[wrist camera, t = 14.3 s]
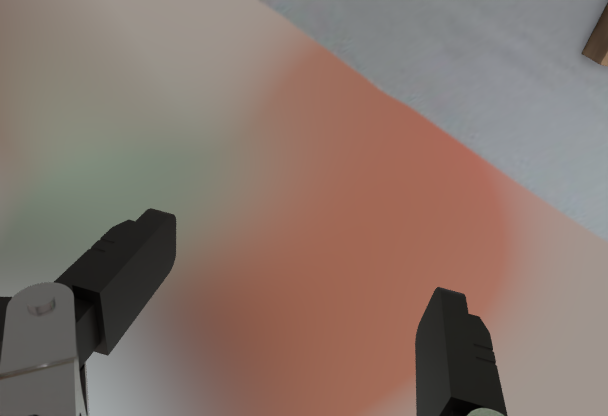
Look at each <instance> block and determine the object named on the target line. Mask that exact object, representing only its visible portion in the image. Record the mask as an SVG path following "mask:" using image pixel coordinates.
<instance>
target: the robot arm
mask: <svg viewBox="0 0 608 416" xmlns="http://www.w3.org/2000/svg"><path fill="white" fill-rule="evenodd" d="M175 256H176V217H175V215H173V214H170V213H166V212H162V211H159V210H155V209H148V210H147V211H145V213H144V214H142V215H141V216H140V217H139V218H138V219H137V220H136V221H132V220H127V221H125V222H122V223H120V224H118V225H116V226H114V227H112V228H111V229H110V230H109V231H108V232H107V233H106V234H104V236H102V237H101V239H100V240H98V241H97V242H96V243H95V244H94V245H93V246H92V247H91V249H89V250H87V252H85V253H84V254H83V255H82V256H81V257H80V258H79V259H78V260H77V261H76V262H75V263H74V264H72V265H71V266H70V267H69V268H68V269H67V270H66V271H65V272H64V273H63V274H62V275H61V276H60V277H59V278H58V279H57V280H56V281H54V282H46V283H40V284H35V285H32V286H29V287H27V288H25V289H23V290H21V291H20V292H18V293H17V294H16V295H15V296H13V297H0V416H89V404H88V387H87V371H86V360H87V359H88V358H89V357H90V355H91V354H92V353H93V352H94V351H95V352H98V353H101V354H105V355H109V354H110V352H111V351H112V350H113V348H114V347H115V346H116V344H117V343H118V342H119V340H120V339H121V337H122V336H123V335H124V333H125V332H126V331H127V329H128V328H129V326H130V325H131V324H132V322H133V321H134V320H135V319H136V317H137V316H138V315H139V313H140V312H141V310H142V309H143V308H144V306H145V305H146V304H147V302H148V301H149V300H150V298H151V297H152V295H153V294H154V293H155V291H156V290H157V289H158V288H159V286H160V285H161V283H162V282H163V281H164V279H165V278H166V277H167V275H168V274H169V273H170V271H171V269H172V267H173V264H174V261H175ZM415 349H416V350H415V353H416V402H417V403H416V404H417V405H416V406H417V416H507V412H506V407H505V402H504V398H503V393H502V388H501V384H500V380H499V374H498V370H497V366H496V365H495V363H496V361H495V356H494V352H493V351H492V350H493V346H492V341H491V337H490V333H489V331H488V329H487V328H486V326H485V325H484V323H483V322H482V320H481V319H480V317H478V316H475V315H471V314H468V308H467V302H466V297H465V295H464V294H462V293H459V292H455V291H451V290H447V289H444V288H440V287H437V288H436V289H435V291H434V293H433V295H432V297H431V299H430V301H429V304H428V306H427V308H426V310H425V312H424V314H423V316H422V318H421V321H420V323H419V326H418V329H417V334H416V341H415Z"/></svg>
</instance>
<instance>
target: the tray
mask: <svg viewBox="0 0 608 416" xmlns="http://www.w3.org/2000/svg"><path fill="white" fill-rule="evenodd" d="M582 54H583V55H585V56H587V57H588V58H590V59H592V60H593V61H595V62H597V63H598V64H600V65H604V66H608V3H607V5H606V7H605V9H604V11H603V13H602V15H601V17H600V19H599V21H598V23H597V25H596V27H595V29H594V31H593V32H592V34H591V36H590V38H589V40H588V42H587V44H586V46H585V48H584V50H583V52H582Z"/></svg>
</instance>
